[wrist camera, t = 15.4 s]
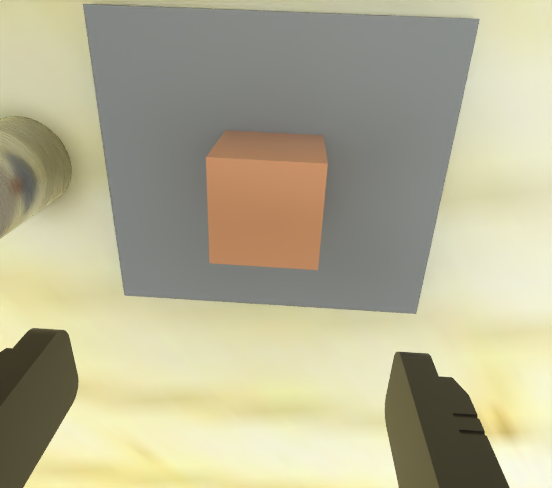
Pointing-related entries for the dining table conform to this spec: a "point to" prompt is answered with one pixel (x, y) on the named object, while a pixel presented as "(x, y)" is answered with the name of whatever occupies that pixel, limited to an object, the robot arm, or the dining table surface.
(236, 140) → the terracotta block
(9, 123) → the grey metal cylinder
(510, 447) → the dining table surface
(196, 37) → the slate board
